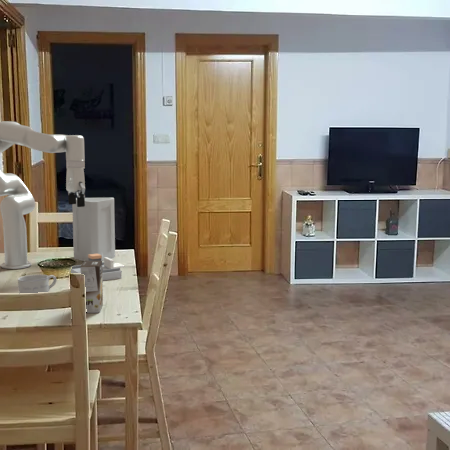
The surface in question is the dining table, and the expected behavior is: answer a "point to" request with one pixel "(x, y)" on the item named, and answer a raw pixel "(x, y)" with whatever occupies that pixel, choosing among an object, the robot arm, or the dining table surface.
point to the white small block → (111, 263)
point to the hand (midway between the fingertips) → (76, 205)
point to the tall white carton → (94, 228)
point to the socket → (106, 272)
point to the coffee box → (93, 285)
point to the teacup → (35, 283)
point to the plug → (94, 257)
